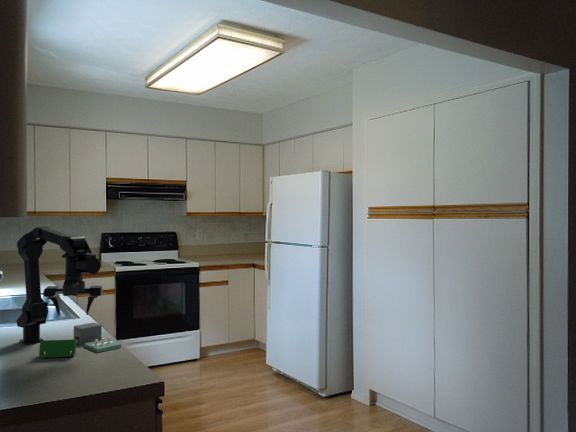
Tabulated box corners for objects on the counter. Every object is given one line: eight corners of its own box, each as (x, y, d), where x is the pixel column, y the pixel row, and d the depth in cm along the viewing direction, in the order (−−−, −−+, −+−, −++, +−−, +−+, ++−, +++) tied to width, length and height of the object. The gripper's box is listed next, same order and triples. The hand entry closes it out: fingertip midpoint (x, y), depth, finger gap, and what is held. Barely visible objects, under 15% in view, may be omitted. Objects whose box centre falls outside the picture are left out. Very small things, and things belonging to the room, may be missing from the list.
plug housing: (73, 341, 189) (73, 326, 189) (93, 337, 195) (93, 322, 195) (81, 344, 185) (81, 328, 185) (101, 340, 191) (101, 325, 191)
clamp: (71, 366, 175) (83, 341, 177) (67, 367, 169) (80, 341, 171) (38, 353, 174) (51, 328, 176) (33, 354, 168) (46, 328, 170)
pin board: (84, 346, 183) (84, 338, 183) (107, 342, 189) (107, 333, 189) (97, 352, 176) (97, 343, 176) (121, 347, 183) (121, 338, 183)
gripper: (40, 275, 166) (39, 321, 167) (99, 274, 171) (98, 320, 171) (47, 270, 177) (46, 313, 177) (103, 270, 182) (102, 312, 182)
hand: (73, 315), depth 177 cm, fingers open, 9 cm apart
